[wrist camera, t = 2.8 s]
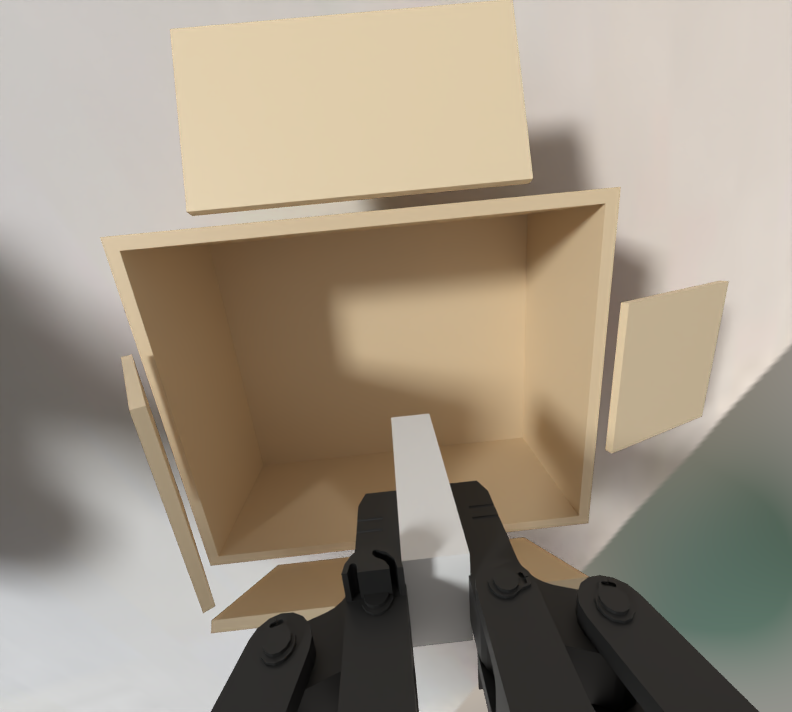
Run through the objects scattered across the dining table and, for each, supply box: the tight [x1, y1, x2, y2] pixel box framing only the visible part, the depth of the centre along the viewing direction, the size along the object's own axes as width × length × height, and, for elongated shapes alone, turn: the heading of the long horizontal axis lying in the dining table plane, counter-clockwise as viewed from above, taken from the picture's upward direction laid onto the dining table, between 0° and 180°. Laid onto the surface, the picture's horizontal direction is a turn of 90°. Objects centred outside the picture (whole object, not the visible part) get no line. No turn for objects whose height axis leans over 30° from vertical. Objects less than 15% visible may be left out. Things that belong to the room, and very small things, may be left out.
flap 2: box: [170, 0, 533, 216], centre depth 15 cm, size 14×8×1 cm, turn 95°
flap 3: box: [211, 537, 588, 633], centre depth 17 cm, size 14×8×1 cm
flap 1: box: [121, 355, 215, 613], centre depth 15 cm, size 8×8×1 cm
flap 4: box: [605, 281, 729, 453], centre depth 19 cm, size 8×8×1 cm
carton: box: [100, 187, 621, 566], centre depth 22 cm, size 22×18×9 cm
